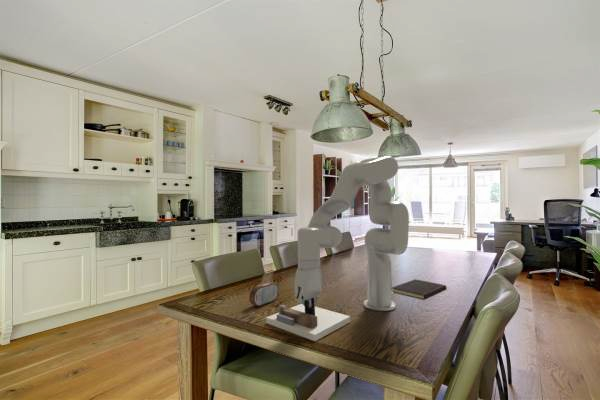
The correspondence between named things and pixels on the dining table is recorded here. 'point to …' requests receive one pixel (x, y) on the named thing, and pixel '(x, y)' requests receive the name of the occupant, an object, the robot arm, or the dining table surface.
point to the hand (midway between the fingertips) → (309, 317)
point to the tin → (264, 293)
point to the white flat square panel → (325, 325)
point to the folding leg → (299, 316)
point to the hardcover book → (419, 288)
